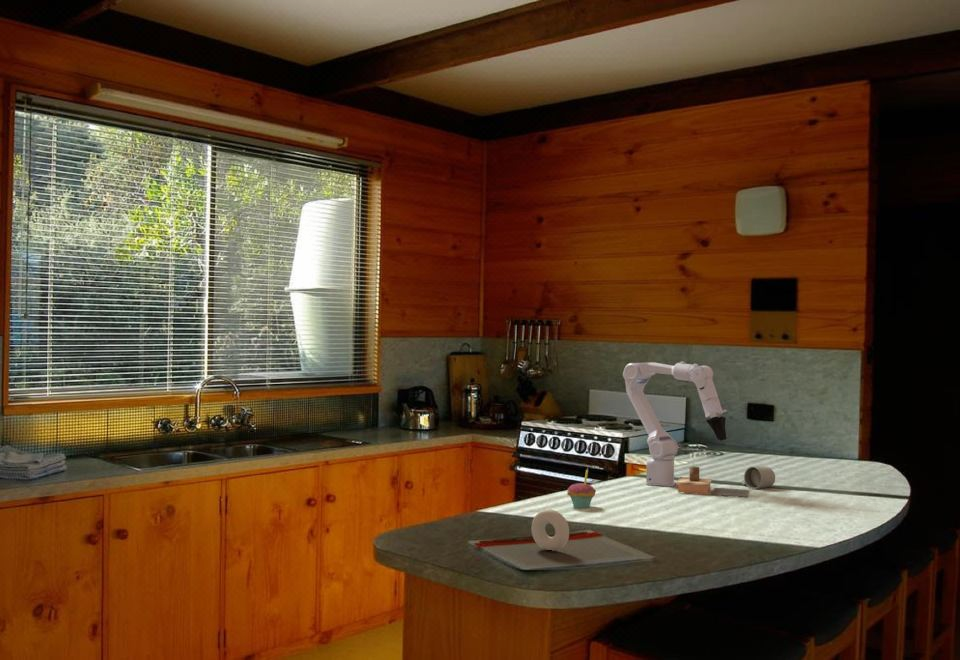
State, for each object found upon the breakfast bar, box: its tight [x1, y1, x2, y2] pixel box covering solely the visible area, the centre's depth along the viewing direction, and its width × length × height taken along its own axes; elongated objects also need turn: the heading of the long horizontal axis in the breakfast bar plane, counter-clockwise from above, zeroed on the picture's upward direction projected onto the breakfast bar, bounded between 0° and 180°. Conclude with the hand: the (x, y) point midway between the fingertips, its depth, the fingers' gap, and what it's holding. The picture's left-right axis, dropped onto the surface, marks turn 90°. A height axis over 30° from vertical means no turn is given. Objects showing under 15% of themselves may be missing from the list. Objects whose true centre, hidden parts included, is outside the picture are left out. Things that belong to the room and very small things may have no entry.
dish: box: [677, 484, 711, 495], centre depth 294 cm, size 10×10×3 cm
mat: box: [711, 487, 749, 498], centre depth 291 cm, size 11×13×1 cm
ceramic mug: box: [741, 465, 776, 490], centre depth 303 cm, size 11×8×8 cm
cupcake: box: [566, 467, 597, 509], centre depth 266 cm, size 9×8×12 cm
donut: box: [530, 508, 570, 552], centre depth 211 cm, size 10×4×10 cm, turn 56°
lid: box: [676, 466, 712, 486], centre depth 294 cm, size 10×10×5 cm
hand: (722, 439), depth 292 cm, fingers open, 7 cm apart
